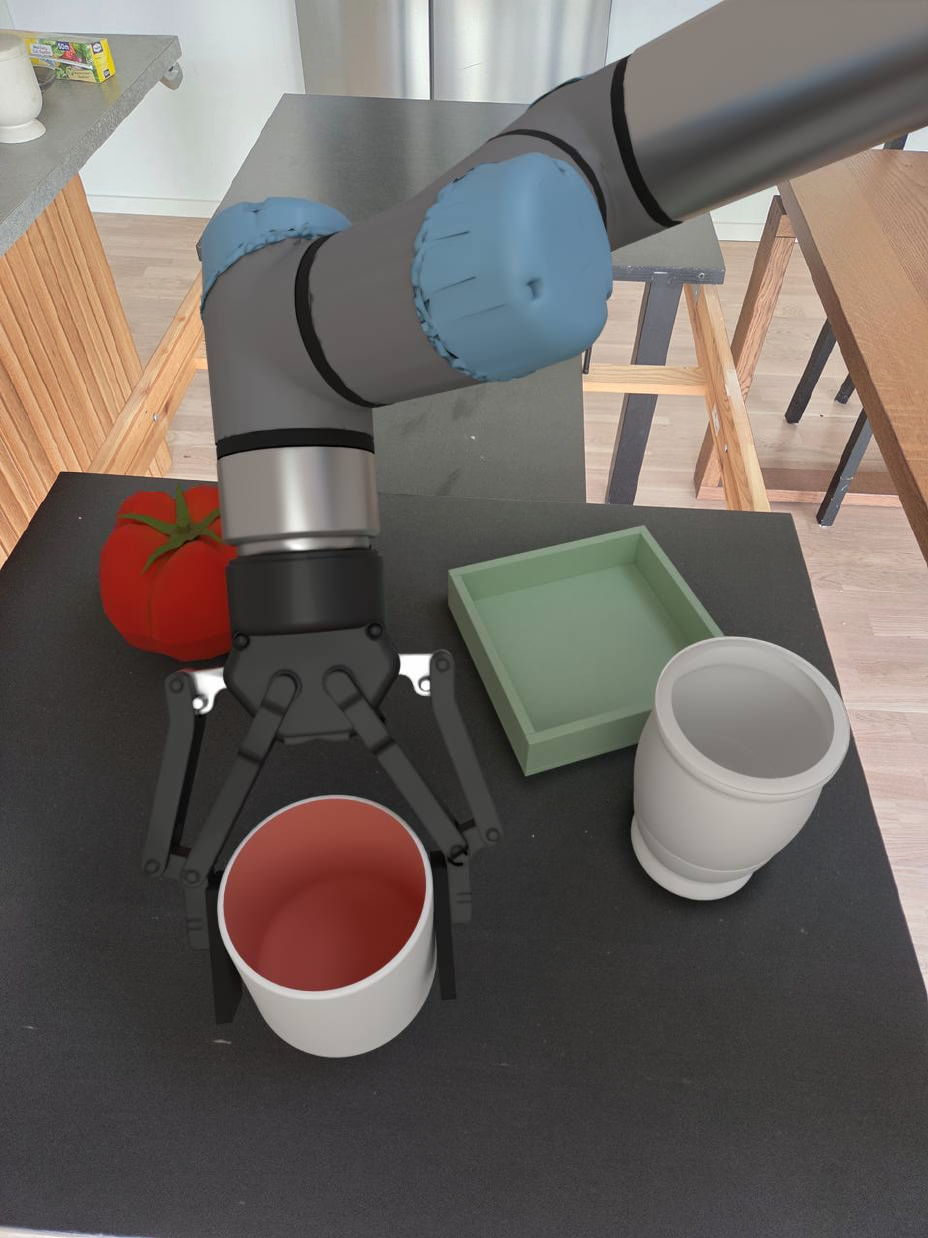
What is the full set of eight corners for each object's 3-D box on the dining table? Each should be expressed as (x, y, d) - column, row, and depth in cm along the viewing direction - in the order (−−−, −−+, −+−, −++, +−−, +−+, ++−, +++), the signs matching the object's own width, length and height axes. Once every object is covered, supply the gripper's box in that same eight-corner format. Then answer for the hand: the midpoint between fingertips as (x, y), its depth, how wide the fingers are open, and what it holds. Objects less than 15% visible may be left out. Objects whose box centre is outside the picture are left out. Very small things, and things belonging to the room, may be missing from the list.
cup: (239, 915, 49) (200, 831, 41) (404, 857, 51) (394, 768, 44) (278, 1096, 42) (239, 1035, 35) (463, 1021, 45) (464, 949, 37)
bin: (741, 713, 64) (756, 679, 61) (525, 777, 60) (529, 744, 57) (636, 559, 75) (644, 524, 72) (448, 604, 71) (447, 569, 68)
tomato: (328, 612, 70) (311, 502, 61) (191, 719, 63) (149, 612, 54) (224, 542, 76) (195, 432, 67) (87, 633, 68) (33, 523, 59)
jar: (642, 752, 61) (685, 611, 50) (786, 808, 58) (866, 672, 47) (592, 876, 55) (628, 746, 44) (751, 947, 52) (833, 827, 41)
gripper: (524, 537, 45) (551, 942, 46) (92, 567, 44) (130, 985, 45) (548, 529, 38) (579, 1012, 39) (28, 563, 36) (76, 1066, 37)
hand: (339, 998), depth 42 cm, fingers closed on cup, 10 cm apart
